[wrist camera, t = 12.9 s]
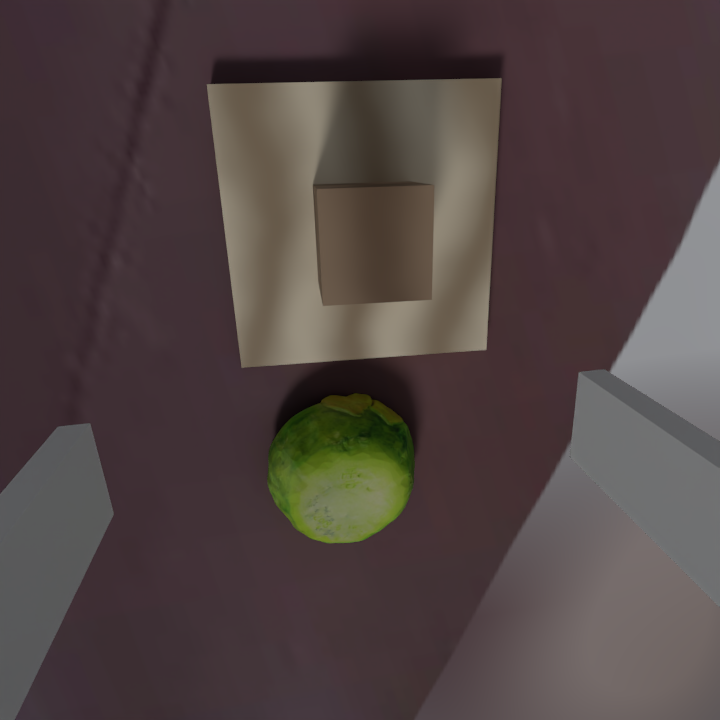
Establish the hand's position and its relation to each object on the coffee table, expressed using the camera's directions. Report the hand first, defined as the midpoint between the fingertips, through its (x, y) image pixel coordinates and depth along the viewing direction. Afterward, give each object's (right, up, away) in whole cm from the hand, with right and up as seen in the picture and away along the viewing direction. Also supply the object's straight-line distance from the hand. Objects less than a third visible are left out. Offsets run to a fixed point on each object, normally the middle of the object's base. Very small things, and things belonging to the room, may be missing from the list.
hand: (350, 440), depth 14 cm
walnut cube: (0, +10, +19) cm, 21 cm away
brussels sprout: (-1, -5, +26) cm, 27 cm away
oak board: (0, +11, +20) cm, 22 cm away
